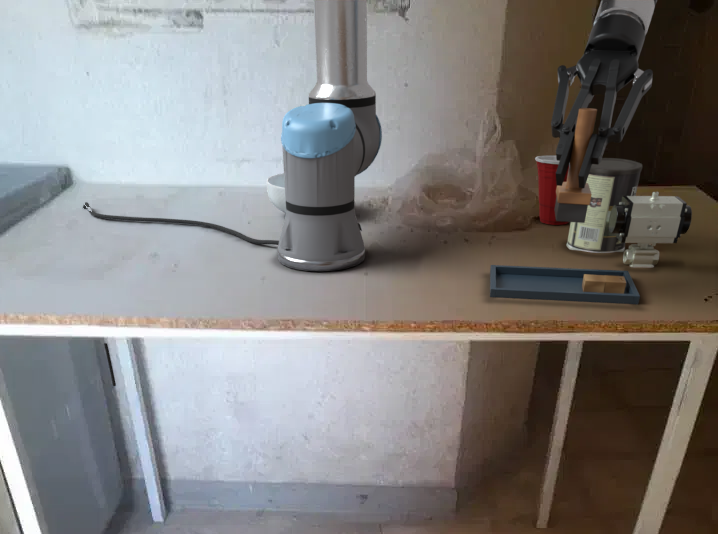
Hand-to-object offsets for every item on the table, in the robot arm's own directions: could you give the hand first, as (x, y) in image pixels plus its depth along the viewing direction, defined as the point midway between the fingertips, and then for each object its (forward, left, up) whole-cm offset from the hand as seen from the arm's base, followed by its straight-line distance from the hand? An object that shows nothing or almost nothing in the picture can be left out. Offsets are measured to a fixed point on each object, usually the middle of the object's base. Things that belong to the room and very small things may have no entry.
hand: (570, 180), depth 101 cm
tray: (+2, +4, -17) cm, 17 cm away
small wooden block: (+9, +3, -16) cm, 19 cm away
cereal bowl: (-46, +43, -17) cm, 65 cm away
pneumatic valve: (+16, +17, -17) cm, 28 cm away
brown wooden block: (+6, +3, -16) cm, 18 cm away
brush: (+1, +3, -6) cm, 7 cm away
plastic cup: (+4, +45, -17) cm, 48 cm away
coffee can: (+10, +28, -17) cm, 34 cm away
